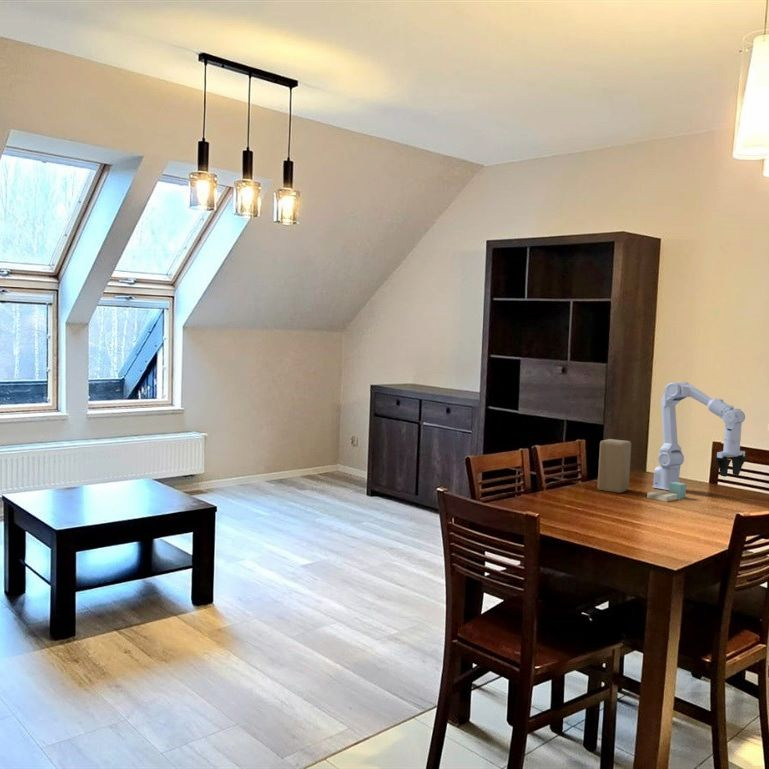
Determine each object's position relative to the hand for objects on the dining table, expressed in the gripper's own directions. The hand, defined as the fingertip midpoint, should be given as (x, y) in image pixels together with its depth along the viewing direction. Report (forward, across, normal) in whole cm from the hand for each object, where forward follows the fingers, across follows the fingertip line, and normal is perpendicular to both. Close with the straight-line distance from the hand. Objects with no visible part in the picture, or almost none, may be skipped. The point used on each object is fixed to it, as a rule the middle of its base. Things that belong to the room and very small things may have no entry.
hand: (729, 475), depth 295 cm
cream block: (+10, -22, +13) cm, 27 cm away
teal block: (+10, -14, +13) cm, 21 cm away
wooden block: (+10, -28, +32) cm, 44 cm away
